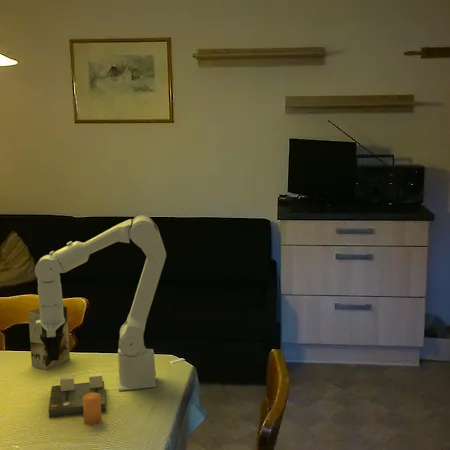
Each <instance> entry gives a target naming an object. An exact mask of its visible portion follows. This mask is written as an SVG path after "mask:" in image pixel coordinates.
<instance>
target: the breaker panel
mask: <svg viewBox="0 0 450 450" xmlns="http://www.w3.org/2000/svg"><path fill="white" fill-rule="evenodd" d="M102 381H103V387H98V388H90V384H89V381H87V382H80V383H79V382H78V383H74V390H69V391H61V386H60V385H51V390H50V396H49V402H48V403H49V404H48V409H47V410H48V418H49V419H50V418H57V417H65V416H67V417H68V416H77V415H84V414H83V396H84V395H85V394H88V393H99V394H100V397H101V413H102V412H103V413H104V412H106V409H107V408H106V407H107V406H106V392H105V391H106V390H105V380H102Z"/></svg>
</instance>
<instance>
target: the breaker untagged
mask: <svg viewBox="0 0 450 450" xmlns="http://www.w3.org/2000/svg"><path fill="white" fill-rule="evenodd" d="M88 380H89V381H88V382H89V384H90V388H98V387H103V381H104V380H103V372H99V373H97V372H95V373H89V374H88Z"/></svg>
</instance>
